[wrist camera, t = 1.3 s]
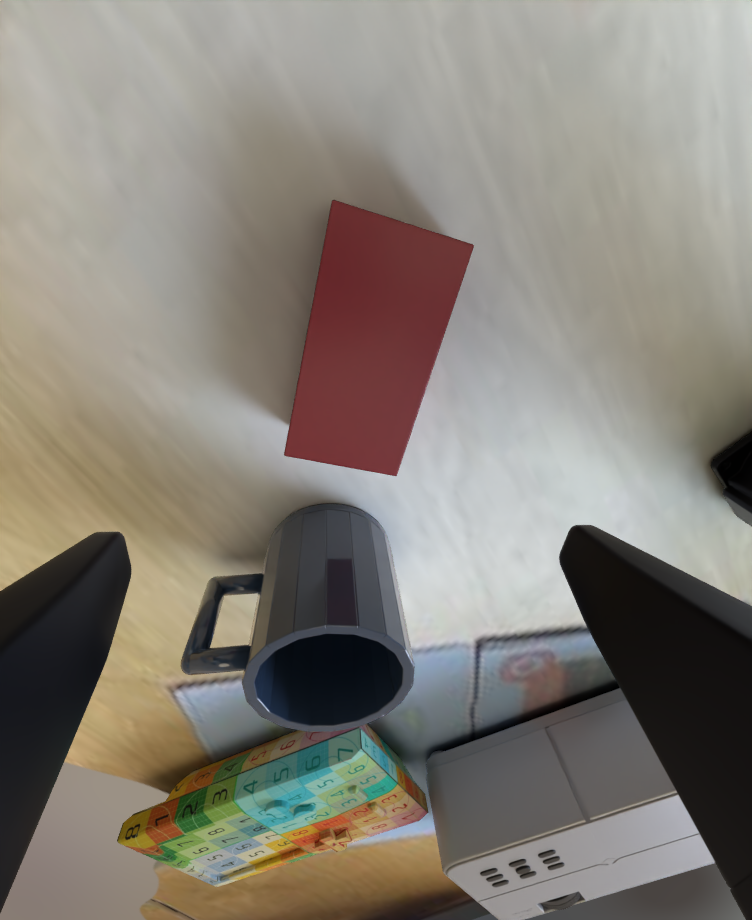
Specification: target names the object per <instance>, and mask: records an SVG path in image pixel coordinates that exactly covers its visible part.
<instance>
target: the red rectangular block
mask: <svg viewBox="0 0 752 920" xmlns="http://www.w3.org/2000/svg"><path fill="white" fill-rule="evenodd" d="M473 248H474V245H473V244H470V243H467V242H463V241H460V240H457V239H454V238H451V237H448V236H445V235H442V234H439V233H435V232H432V231H429V230H426V229H423V228H420V227H417V226H414V225H411V224H407V223H404V222H401V221H398V220H395V219H392V218H389V217H386V216H383V215H379V214H376V213H373V212H370V211H367V210H364V209H361V208H358V207H355V206H351V205H348V204H345V203H342V202H339V201H336V200H332V203H331V209H330V214H329V219H328V224H327V230H326V235H325V240H324V246H323V251H322V256H321V262H320V267H319V272H318V277H317V283H316V288H315V293H314V299H313V304H312V309H311V315H310V320H309V325H308V330H307V336H306V341H305V346H304V352H303V357H302V362H301V367H300V373H299V378H298V383H297V389H296V394H295V399H294V405H293V410H292V415H291V420H290V426H289V431H288V436H287V442H286V447H285V452H284V455H285V456H289V457H294V458H300V459H305V460H311V461H316V462H322V463H327V464H333V465H338V466H344V467H349V468H355V469H360V470H365V471H371V472H376V473H382V474H387V475H393V476H397V473H398V470H399V467H400V464H401V461H402V459H403V456H404V453H405V450H406V447H407V444H408V441H409V438H410V435H411V432H412V429H413V426H414V423H415V420H416V417H417V414H418V411H419V408H420V405H421V402H422V399H423V396H424V393H425V390H426V387H427V384H428V381H429V378H430V375H431V372H432V369H433V366H434V363H435V360H436V358H437V355H438V352H439V349H440V346H441V343H442V340H443V337H444V334H445V331H446V328H447V325H448V322H449V319H450V316H451V313H452V310H453V307H454V304H455V301H456V298H457V295H458V292H459V289H460V286H461V283H462V280H463V277H464V274H465V271H466V268H467V265H468V262H469V259H470V256H471V254H472V251H473Z"/></svg>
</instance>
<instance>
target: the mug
mask: <svg viewBox="0 0 752 920" xmlns="http://www.w3.org/2000/svg"><path fill="white" fill-rule="evenodd" d="M254 593H258V598H257V603H256V609H255V614H254V619H253V625H252V630H251V635H250V640H249V645H240V646H229V647H217V648H210V645H211V642H212V638H213V634H214V631H215V627H216V624H217V620H218V617H219V613H220V610H221V606H222V602H223V599H224V596H227V595H241V594H254ZM414 668H415V666H414V661H413V656H412V651H411V646H410V641H409V636H408V631H407V626H406V621H405V616H404V611H403V606H402V601H401V596H400V591H399V586H398V581H397V576H396V571H395V566H394V561H393V556H392V551H391V547H390V545H389V541H388V537H387V535H386V533H385V531H384V529H383V528H382V526H381V525H380V524H379V523H378V522H377V521H376V520H375V519H374V518H373V517H372V516H370V515H369V514H367V513H366V512H364V511H362V510H360V509H357V508H354V507H351V506H347V505H341V504H320V505H314V506H310V507H307V508H304V509H301V510H299V511H297V512H295V513H293V514H292V515H290V516H288V517H287V518H286V519H285V520H283V521H282V522H281V523H280V524H279V525H278V527H277V528H276V529H275V531H274V532H273V534H272V536H271V538H270V541H269V544H268V549H267V553H266V556H265V561H264V566H263V572H262V573H259V574H245V575H231V576H217V577H213V578H211V579H210V580H209V581H208V583H207V586H206V589H205V592H204V595H203V598H202V601H201V604H200V607H199V609H198V612H197V615H196V618H195V621H194V624H193V627H192V630H191V633H190V636H189V639H188V642H187V645H186V648H185V651H184V654H183V657H182V660H181V669H182V671H183V672H184V673H185V674H188V675H198V674H209V673H220V672H231V671H242V670H244V672H243V677H242V685H243V689H244V693H245V697H246V700H247V702H248V703H249V704H250V705H251V706H252V708H253V709H254V710H255V711H256V712H257V713H258V714H259V715H260V716H261V717H263V718H265V719H267V720H269V721H271V722H273V723H275V724H277V725H279V726H282V727H286V728H291V729H296V730H300V731H305V732H307V731H308V732H334V731H340V730H345V729H350V728H355V727H359V726H363V725H365V724H367V723H370V722H372V721H374V720H376V719H379V718H381V717H383V716H385V715H386V714H388V713H389V712H390V711H391V710H393V709H394V708H395V707H396V706H398V705H399V704H400V703H402V701H403V700H404V698H405V697H406V695H407V694H408V692H409V690H410V689H411V687H412V686H413V681H414Z"/></svg>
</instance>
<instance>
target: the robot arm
mask: <svg viewBox="0 0 752 920" xmlns="http://www.w3.org/2000/svg"><path fill="white" fill-rule="evenodd" d="M711 468H712V470H713V471H714V473H715V474H716V476H717V477H718V479H719V480H720V482H721V484H722V485H723V487H724V488H725V489H723V496H724V497H725V499H726V501H727V502H728V504H729V505H730V507H731V508H732V510H733V511H734V513H735V514H736V516H737V517H739V518H740V519H742V520H743V521H744V522H746V523H747V524H749V525H750V526H752V432H751V433H750V434H749V435H747V436H746V437H744V438H743V439H741V440H740V441H739V442H737V443H736V444H734V445H733V446H731V447H730V448H729V449H727V450H726V451H724V452H723V453H721V454H720V455H719V456H717V457H716V458H715V459H714V460H713V461H712V463H711ZM559 560H560V565H561V568H562V570H563V572H564V575H565V577H566V579H567V582H568V584H569V586H570V589H571V591H572V593H573V596H574V598H575V600H576V603H577V605H578V607H579V610H580V612H581V614H582V617H583V619H584V621H585V623H586V625H587V627H588V629H589V631H590V633H591V635H592V637H593V639H594V641H595V643H596V645H597V647H598V648H599V650H600V652H601V654H602V656H603V658H604V659H605V661H606V663H607V665H608V667H609V669H610V670H611V672H612V674H613V676H614V678H615V680H616V681H617V683H618V685H619V687H620V689H621V691H622V692H623V694H624V696H625V698H626V700H627V702H628V703H629V705H630V707H631V709H632V711H633V713H634V714H635V716H636V718H637V720H638V722H639V724H640V725H641V727H642V729H643V731H644V733H645V735H646V736H647V738H648V740H649V742H650V744H651V746H652V747H653V749H654V751H655V753H656V755H657V757H658V758H659V760H660V762H661V764H662V766H663V768H664V769H665V771H666V773H667V775H668V777H669V779H670V780H671V782H672V784H673V786H674V788H675V790H676V791H677V793H678V795H679V797H680V799H681V801H682V802H683V804H684V806H685V808H686V810H687V812H688V813H689V815H690V817H691V819H692V821H693V823H694V824H695V826H696V828H697V830H698V832H699V834H700V835H701V837H702V839H703V841H704V843H705V845H706V846H707V848H708V850H709V852H710V854H711V856H712V857H713V859H714V861H715V863H716V865H717V867H718V868H719V870H720V872H721V874H722V876H723V878H724V880H725V881H726V883H727V885H728V886H729V887H730V888H731V893H732V895H733V897H734V899H735V900H736V902H737V904H738V906H739V908H740V910H741V911H742V913H743V915H744V917H745V919H746V920H752V606H750V605H748V604H746V603H744V602H742V601H740V600H738V599H736V598H734V597H732V596H730V595H728V594H726V593H725V592H723V591H721V590H719V589H717V588H715V587H713V586H711V585H709V584H707V583H705V582H703V581H701V580H699V579H697V578H695V577H693V576H691V575H689V574H687V573H685V572H683V571H681V570H679V569H677V568H675V567H673V566H671V565H669V564H667V563H666V562H664V561H662V560H660V559H658V558H656V557H654V556H652V555H650V554H648V553H646V552H644V551H642V550H640V549H638V548H636V547H634V546H632V545H630V544H628V543H626V542H624V541H622V540H620V539H618V538H616V537H614V536H612V535H610V534H608V533H606V532H605V531H603V530H601V529H599V528H597V527H595V526H592V525H575V526H573V527H572V528H571V529H570V530H569V532H568V535H567V537H566V540H565V542H564V544H563V547H562V549H561V552H560V556H559ZM130 578H131V563H130V559H129V555H128V551H127V546H126V542H125V538H124V536H123V535H122V534H121V533H120V532H96V533H94V534H92V535H90V536H88V537H87V538H85V539H84V540H82V541H80V542H79V543H77V544H75V545H74V546H72V547H71V548H69V549H67V550H66V551H64V552H63V553H61V554H59V555H58V556H56V557H55V558H53V559H51V560H50V561H48V562H47V563H45V564H43V565H42V566H40V567H38V568H37V569H35V570H34V571H32V572H30V573H29V574H27V575H26V576H24V577H22V578H21V579H19V580H18V581H16V582H14V583H13V584H11V585H10V586H8V587H6V588H5V589H3V590H1V591H0V912H1V910H2V908H3V906H4V903H5V901H6V898H7V896H8V894H9V891H10V889H11V887H12V884H13V882H14V879H15V877H16V875H17V872H18V870H19V867H20V865H21V863H22V860H23V858H24V855H25V853H26V851H27V848H28V846H29V843H30V841H31V839H32V837H33V834H34V832H35V829H36V827H37V825H38V822H39V820H40V818H41V815H42V813H43V810H44V808H45V806H46V803H47V801H48V799H49V796H50V794H51V791H52V788H53V787H54V784H55V782H56V779H57V777H58V775H59V772H60V770H61V767H62V765H63V763H64V760H65V758H66V756H67V753H68V751H69V749H70V746H71V744H72V741H73V739H74V737H75V734H76V732H77V730H78V727H79V725H80V722H81V720H82V718H83V715H84V713H85V710H86V708H87V706H88V703H89V701H90V699H91V696H92V694H93V691H94V689H95V687H96V684H97V682H98V680H99V677H100V675H101V672H102V670H103V667H104V665H105V662H106V660H107V656H108V653H109V650H110V647H111V644H112V640H113V637H114V634H115V630H116V627H117V623H118V620H119V616H120V613H121V610H122V606H123V603H124V599H125V596H126V592H127V589H128V586H129V582H130Z"/></svg>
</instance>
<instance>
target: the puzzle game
mask: <svg viewBox="0 0 752 920" xmlns="http://www.w3.org/2000/svg"><path fill="white" fill-rule="evenodd" d="M427 813H428V807H427V801H426V796H425V793H424V792H423V791H422V790H421V789H420V787H419V786H418V785H417V784H416V783H415V781H414V780H413V779H412V777H411V775H410V774H409V772H408V771H407V769H406V767H405V766H404V764H403V763H402V761H401V759H400V758H399V757H398V756H397V755H396V754H395V753H394V751H393V750H392V749H391V748H390V747H389V746H388V745H387V744H386V743H385V742H384V741H383V740H382V739H381V738H380V737H379V736H378V735H377V734H376V733H375V732H374V731H373V730H372V729H371V728H370V727H369V726H368V725H367V724H365V725H363V726H359V727H355V728H350V729H345V730H340V731H334V732H308V731H307V732H305V731H300V730H297V731H295V732H292V733H289V734H287V735H284V736H282V737H279V738H277V739H274V740H272V741H269V742H267V743H264V744H262V745H259V746H256V747H254V748H251V749H249V750H246V751H244V752H241V753H239V754H236V755H234V756H231V757H229V758H226V759H223V760H221V761H218V762H216V763H213V764H211V765H208V766H206V767H203V768H201V769H198V770H196V771H193V772H192V773H190V774H189V775H188V776H187V777H185V778H184V779H183V780H182V781H181V782H179V783H178V784H177V785H176V786H175V787H174V789H173V790H172V792H171V794H170V795H169V797H168V798H167V800H166V801H165V802H163V803H160V804H158V805H155V806H153V807H150V808H148V809H145V810H142V811H140V812H138V813H135V814H133V815H132V816H131V817H130V818H129V819H127V820H126V821H125V822H124V823H123V825H122V828H121V831H120V834H119V836H118V840H117V841H118V843H120V844H122V845H124V846H126V847H129V848H131V849H133V850H135V851H138V852H140V853H142V854H144V855H146V856H149V857H151V858H153V859H155V860H158V861H160V862H162V863H164V864H167V865H169V866H171V867H173V868H175V869H178V870H180V871H182V872H184V873H187V874H189V875H191V876H193V877H195V878H198V879H200V880H202V881H204V882H207V883H209V884H211V885H213V886H216V887H218V886H221V885H225V884H228V883H231V882H234V881H237V880H240V879H243V878H246V877H249V876H252V875H255V874H258V873H261V872H264V871H267V870H270V869H273V868H276V867H279V866H282V865H285V864H288V863H292V862H295V861H298V860H301V859H304V858H307V857H310V856H313V855H316V854H319V853H322V852H325V851H328V850H331V849H333V850H334V851H336V852H338V851H341V850H344V849H347V844H349V843H352V842H355V841H359V840H362V839H365V838H368V837H371V836H374V835H377V834H380V833H383V832H386V831H389V830H392V829H395V828H398V827H401V826H404V825H407V824H410V823H413V822H416V821H419V820H421V819H422V818H423V817H424V816H425V815H426V814H427Z"/></svg>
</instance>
